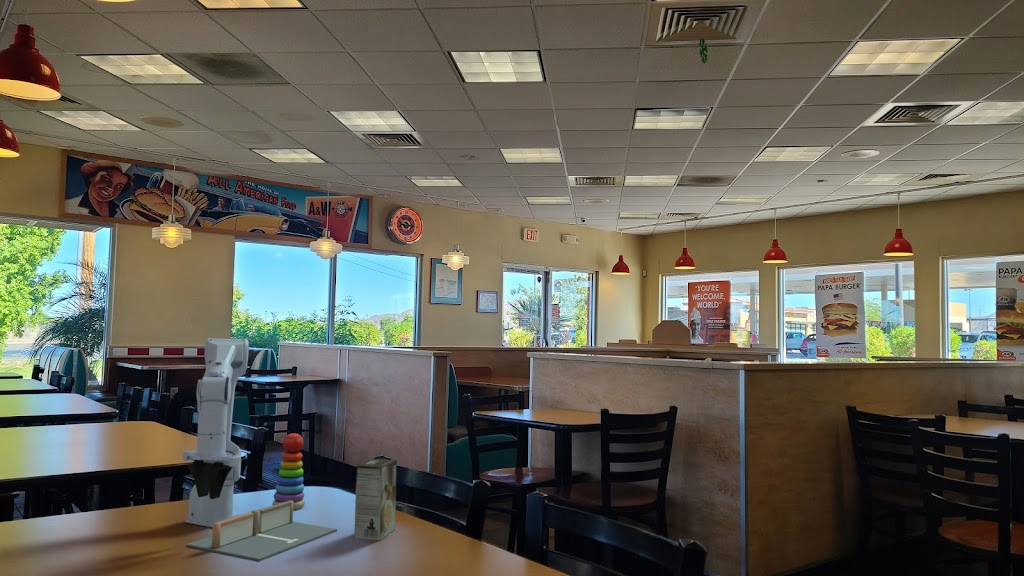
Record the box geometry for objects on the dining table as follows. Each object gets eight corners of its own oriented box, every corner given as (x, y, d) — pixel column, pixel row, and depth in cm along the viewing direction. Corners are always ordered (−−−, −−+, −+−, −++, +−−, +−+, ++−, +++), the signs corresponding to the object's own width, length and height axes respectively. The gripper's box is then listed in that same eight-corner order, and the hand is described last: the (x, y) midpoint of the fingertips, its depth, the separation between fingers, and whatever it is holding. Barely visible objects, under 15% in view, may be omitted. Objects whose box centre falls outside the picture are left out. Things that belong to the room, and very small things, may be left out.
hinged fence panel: (247, 534, 155) (248, 512, 155) (253, 535, 154) (254, 513, 154) (209, 546, 145) (211, 523, 146) (215, 548, 145) (216, 524, 145)
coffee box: (369, 527, 164) (372, 457, 165) (395, 530, 163) (398, 459, 164) (353, 539, 155) (355, 465, 156) (380, 541, 154) (383, 466, 155)
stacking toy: (286, 513, 175) (289, 436, 177) (265, 507, 180) (268, 433, 181) (311, 506, 182) (314, 433, 183) (290, 502, 186) (293, 430, 188)
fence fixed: (248, 536, 155) (249, 511, 155) (288, 523, 166) (289, 499, 167) (254, 537, 154) (255, 512, 155) (294, 524, 166) (295, 500, 166)
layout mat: (186, 546, 147) (186, 543, 148) (269, 519, 169) (269, 517, 169) (259, 561, 139) (259, 558, 139) (337, 530, 161) (337, 528, 161)
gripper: (172, 432, 151) (168, 496, 150) (222, 438, 145) (219, 505, 144) (199, 428, 158) (196, 490, 157) (248, 434, 152) (245, 498, 151)
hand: (208, 497), depth 151 cm, fingers open, 3 cm apart
